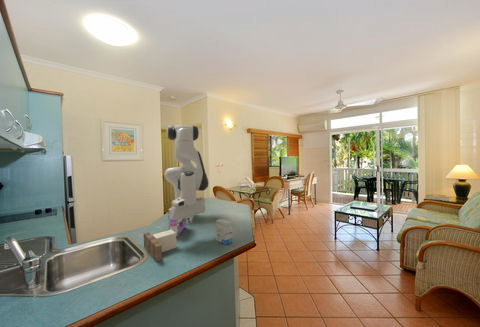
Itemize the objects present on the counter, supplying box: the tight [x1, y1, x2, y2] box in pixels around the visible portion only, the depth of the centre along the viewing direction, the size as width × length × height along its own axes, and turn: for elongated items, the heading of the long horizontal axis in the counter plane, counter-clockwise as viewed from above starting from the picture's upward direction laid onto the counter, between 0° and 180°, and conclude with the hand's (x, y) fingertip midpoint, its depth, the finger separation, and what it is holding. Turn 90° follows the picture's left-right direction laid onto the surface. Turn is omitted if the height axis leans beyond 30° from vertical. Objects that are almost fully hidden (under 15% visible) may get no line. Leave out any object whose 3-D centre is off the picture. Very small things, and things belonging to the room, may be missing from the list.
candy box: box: [167, 207, 185, 237], centre depth 122 cm, size 14×6×16 cm, turn 0°
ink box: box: [216, 218, 233, 246], centre depth 108 cm, size 9×5×12 cm, turn 44°
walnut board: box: [143, 232, 163, 262], centre depth 97 cm, size 20×2×7 cm, turn 42°
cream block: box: [152, 229, 177, 253], centre depth 101 cm, size 6×10×8 cm, turn 132°
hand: (189, 223), depth 112 cm, fingers closed
